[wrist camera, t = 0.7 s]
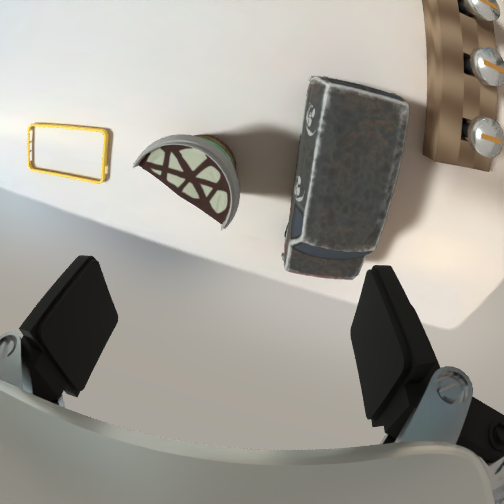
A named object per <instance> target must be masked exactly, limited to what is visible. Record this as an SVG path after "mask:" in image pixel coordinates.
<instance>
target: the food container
mask: <svg viewBox="0 0 504 504" xmlns="http://www.w3.org/2000/svg"><path fill="white" fill-rule="evenodd" d="M138 165H139V166H140V167H142V168H143V169H144V170H146V171H148V172H149V173H151V174H152V175H154V176H155V177H156V178H158V179H159V180H160V181H162V182H163V183H164V184H165V185H167V186H168V187H169V188H170V189H171V190H172V191H174V192H175V193H176V194H177V195H179V196H180V197H182V198H183V199H185V200H187V201H188V202H190V203H192V204H193V205H195V206H196V207H198V208H199V209H201V210H202V211H204V212H205V213H207V214H208V215H209V216H211V217H212V218H214V219H215V220H216V221H218V222H219V223H220V224H222V226H221V231H222V229H223V228H224V229H225V228H226V227H227V226H228V225H229V224H230V222H231V221H232V219H233V217H234V215H235V213H236V211H237V208H238V204H239V198H240V185H239V181H238V176H237V174H236V162H235V159H234V157H233V154H232V152H231V151H230V149H229V148H228V147H227V145H226V144H224V143H223V142H222V141H220V140H219V139H217V138H215V137H212V136H208V135H195V136H191V135H171V136H168V137H164V138H161V139H159V140H157V141H155V142H154V143H152V144H151V145H149V146H148V147H147V148H146V149H145V150H144V151H143V152H142V153H141V154H140V156H139V157H138V158H137V160H136V161H135V163H134V166H133V168H134V167H136V166H138Z"/></svg>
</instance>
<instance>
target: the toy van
mask: <svg viewBox="0 0 504 504" xmlns="http://www.w3.org/2000/svg"><path fill="white" fill-rule="evenodd" d="M311 78H313V79H311ZM309 82H310V83H309V86H308V90H307V97H306V103H305V110H304V117H303V125H302V133H301V135H300V142H299V151H298V159H297V166H296V173H295V179H294V186H293V192H292V199H291V208H290V216H289V223H288V225H287V228H286V231H285V245H284V253H282V260H283V261H284V268H285V270H286V271H288V272H291V273H296V274H301V275H307V276H313V277H320V278H330V279H345V280H353V279H354V278H355V277H356V276H358V274H359V272H360V270H361V267H362V265H363V263H364V260H365V258H366V255H367V254H369V253H370V252H372V251H374V250H375V249H376V246H377V243H378V241H379V238H380V236H381V233H382V230H383V227H384V224H385V221H386V217H387V214H388V210H389V206H390V202H391V199H392V195H393V191H394V188H395V184H396V181H397V177H398V173H399V169H400V165H401V160H402V154H403V149H404V143H405V137H406V131H407V125H408V118H409V105H408V103H407V102H406V101H405V100H404V99H402V98H401V97H399V96H397V95H395V94H394V93H387V92H384V91H381V90H377V89H374V88H370V87H367V86H364V85H360V84H355V83H351V82H346V81H342V80H337V79H332V78H328V77H325V76H324V77H320V76H311V77H310V78H309Z"/></svg>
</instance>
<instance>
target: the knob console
mask: <svg viewBox="0 0 504 504" xmlns="http://www.w3.org/2000/svg"><path fill="white" fill-rule="evenodd" d="M460 1H463V0H422V3H423V11H424V20H425V31H426V46H427V110H426V126H425V137H424V147H423V155H425V156H427V157H429V158H430V159H432V160H434V161H436V162H440V163H446V164H452V165H457V166H463V167H468V168H473V169H478V170H482V171H487V172H489V171H490V165H491V158H487V157H485V156H483V155H481V154H479V153H477V152H475V151H474V150H473V149H472V147H471V146H470V143H469V140H468V137H465V136H463V135H462V134H461V130H462V123H463V122H467V123H470V122H471V121H472V119H473V118H475V117H477V116H483V117H487V118H490V119H493V120H495V121H496V111H497V86H491V85H485V84H483V83H481V82H480V81H479V80H478V79H477V78H476V76H475V75H474V73H467V72H466V71H465V70H464V59H470V55H471V52H472V51H473V49H475V48H482V47H490V48H493V49H494V50H496V45H495V35H494V27H493V20H492V21H481V20H479V19H478V18H476V17H475V16H474V15H473V14H472V13H471V14H467V15H465V14H462V13H461V12H460V11H459V8H458V2H460Z"/></svg>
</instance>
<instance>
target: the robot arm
mask: <svg viewBox="0 0 504 504" xmlns="http://www.w3.org/2000/svg"><path fill="white" fill-rule="evenodd" d="M117 322H118V314H117V311H116V309H115V307H114V304H113V302H112V299H111V296H110V293H109V291H108V288H107V285H106V282H105V279H104V277H103V273H102V271H101V268H100V265H99V262H98V261H97V260H96V259H95V258H94V257H93V256H78V257H77V258H76V259H75V260H74V261H73V263H72V264H71V265H70V266H69V267H68V268H67V269H66V270H65V272H64V273H63V274H62V275H61V276H60V278H58V280H57V281H56V282H55V283H54V284H53V286H52V287H51V288H50V289H49V291H48V292H47V293H46V294H45V295H44V297H43V298H42V299H41V300H40V302H39V303H38V304H37V305H36V307H35V308H34V309H33V310H32V312H31V313H30V315H29V316H28V317H27V318H26V320H25V321H24V322H23V324H22V325H21V327H20V328H19V329H20V331H21V332H22V334H23V337H22V339H21V337H20V336H19V335H18V333H16V332H8V333H5V334H3V335H2V336H0V504H504V415H502V414H501V413H499V412H497V411H496V410H494V409H492V408H491V407H489V406H487V405H485V404H484V403H482V402H481V401H479V400H477V399H475V398H474V397H472V395H473V387H472V383H471V381H470V379H469V377H468V376H467V375H466V374H465V373H464V372H463V371H461V370H460V369H458V368H455V367H449V366H446V367H442V368H440V366H439V364H438V361H437V359H436V356H435V354H434V351H433V349H432V347H431V344H430V342H429V340H428V337H427V335H426V333H425V330H424V328H423V326H422V324H421V322H420V319H419V317H418V315H417V313H416V311H415V309H414V307H413V306H412V305H411V304H410V302H409V300H408V298H407V296H406V294H405V292H404V290H403V288H402V286H401V284H400V282H399V280H398V278H397V276H396V274H395V272H394V271H393V269H392V267H391V266H387V265H374V266H373V267H372V270H368V271H367V273H366V277H365V281H364V284H363V288H362V292H361V295H360V299H359V303H358V306H357V310H356V313H355V316H354V320H353V323H352V326H351V340H352V345H353V349H354V354H355V359H356V364H357V369H358V373H359V379H360V384H361V389H362V395H363V401H364V406H365V412H366V417H367V419H371V420H372V426H373V427H378V426H384V430H385V433H386V436H385V437H384V439H383V440H382V442H381V443H380V445H370V446H361V447H351V448H340V449H339V448H338V449H319V450H261V449H244V448H232V447H222V446H213V445H205V444H198V443H192V442H186V441H180V440H175V439H169V438H164V437H159V436H155V435H150V434H146V433H142V432H138V431H134V430H130V429H127V428H123V427H119V426H115V425H113V424H109V423H106V422H103V421H100V420H97V419H94V418H91V417H88V416H85V415H82V414H79V413H76V412H73V411H71V410H68V409H66V408H65V405H64V401H63V397H62V393H63V390H64V391H65V392H66V393H67V394H69V395H72V396H75V397H78V395H79V393H80V391H82V390H83V389H84V388H85V385H86V383H87V381H88V379H89V377H90V375H91V373H92V371H93V369H94V367H95V365H96V363H97V361H98V358H99V357H100V355H101V353H102V351H103V349H104V347H105V345H106V343H107V341H108V339H109V337H110V336H111V334H112V332H113V330H114V328H115V326H116V324H117Z"/></svg>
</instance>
